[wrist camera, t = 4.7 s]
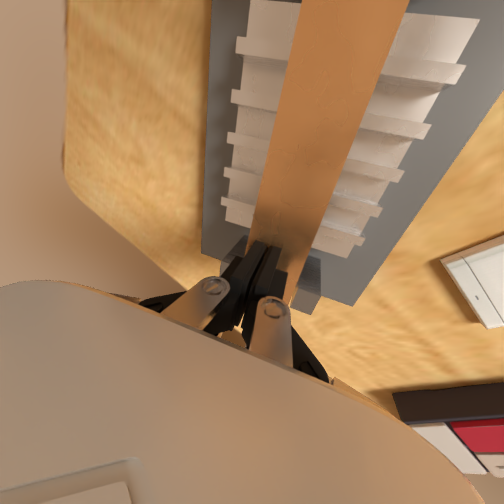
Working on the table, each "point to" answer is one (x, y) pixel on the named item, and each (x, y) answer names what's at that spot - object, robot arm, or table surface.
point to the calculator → (460, 424)
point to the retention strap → (319, 119)
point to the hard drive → (481, 279)
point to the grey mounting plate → (413, 163)
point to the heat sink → (368, 135)
